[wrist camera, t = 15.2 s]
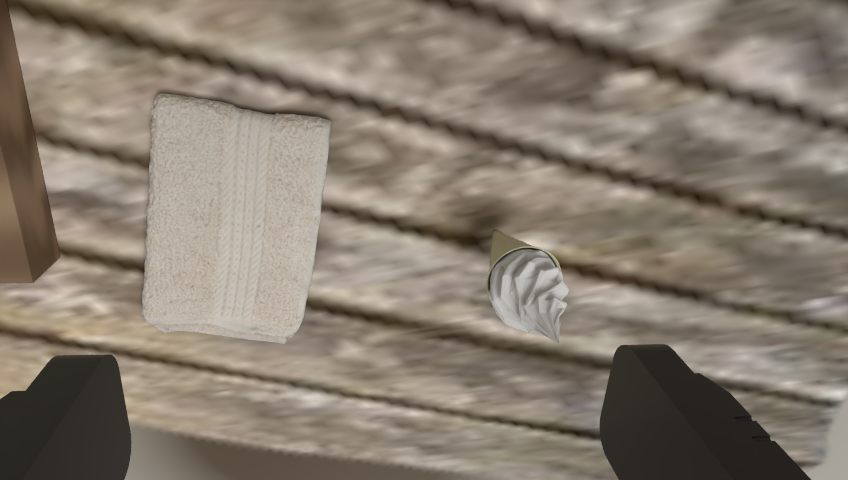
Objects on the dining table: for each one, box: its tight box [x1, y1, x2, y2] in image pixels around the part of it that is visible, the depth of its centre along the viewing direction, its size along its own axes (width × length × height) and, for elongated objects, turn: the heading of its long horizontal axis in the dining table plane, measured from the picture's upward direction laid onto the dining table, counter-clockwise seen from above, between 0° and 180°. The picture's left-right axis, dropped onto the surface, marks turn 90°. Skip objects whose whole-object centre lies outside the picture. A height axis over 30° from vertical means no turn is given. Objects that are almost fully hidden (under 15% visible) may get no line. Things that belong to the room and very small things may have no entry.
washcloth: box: [141, 93, 332, 344], centre depth 42 cm, size 12×18×3 cm, turn 169°
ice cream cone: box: [487, 231, 569, 343], centre depth 39 cm, size 5×5×15 cm
